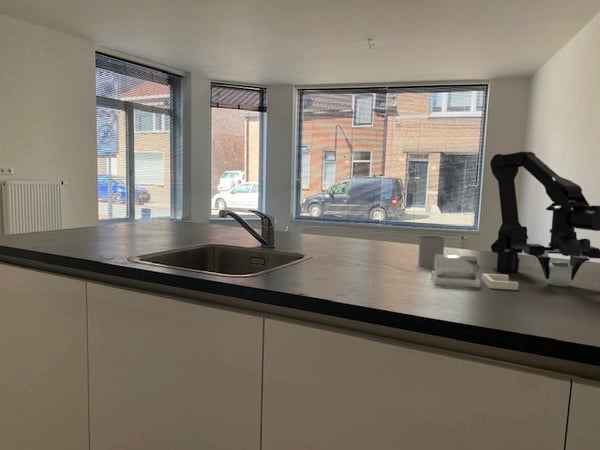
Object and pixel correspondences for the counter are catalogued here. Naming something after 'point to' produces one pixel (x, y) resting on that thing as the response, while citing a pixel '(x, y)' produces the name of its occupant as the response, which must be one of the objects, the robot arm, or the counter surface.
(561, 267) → the frosted cube with recess
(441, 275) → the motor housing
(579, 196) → the robot arm
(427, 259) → the cup
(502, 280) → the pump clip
